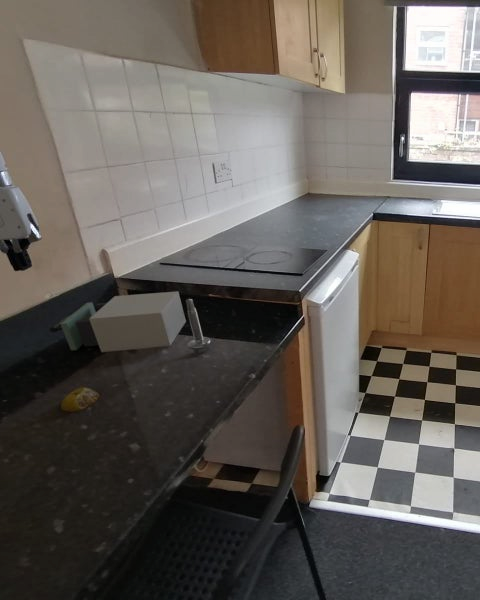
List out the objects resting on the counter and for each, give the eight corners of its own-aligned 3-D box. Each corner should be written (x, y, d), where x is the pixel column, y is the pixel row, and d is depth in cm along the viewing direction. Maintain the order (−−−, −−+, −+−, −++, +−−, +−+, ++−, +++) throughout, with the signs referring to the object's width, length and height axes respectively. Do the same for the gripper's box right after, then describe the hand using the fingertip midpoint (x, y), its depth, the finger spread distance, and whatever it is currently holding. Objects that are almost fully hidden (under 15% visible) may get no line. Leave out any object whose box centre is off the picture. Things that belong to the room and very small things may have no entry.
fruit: (106, 420, 71) (99, 403, 69) (52, 426, 69) (44, 409, 68) (125, 391, 78) (119, 375, 76) (77, 397, 77) (70, 381, 75)
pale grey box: (101, 352, 91) (88, 318, 88) (125, 326, 103) (114, 296, 99) (170, 345, 94) (161, 312, 90) (186, 321, 105) (178, 291, 102)
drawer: (49, 352, 90) (37, 325, 87) (76, 328, 100) (67, 304, 97) (136, 344, 93) (127, 318, 90) (154, 322, 103) (147, 297, 100)
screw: (214, 352, 91) (190, 358, 89) (211, 343, 95) (188, 348, 93) (202, 300, 86) (176, 305, 83) (199, 292, 89) (175, 296, 87)
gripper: (-75, 186, 75) (-30, 277, 83) (17, 182, 77) (52, 272, 85) (-43, 180, 82) (-4, 265, 89) (40, 177, 84) (71, 261, 92)
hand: (23, 268), depth 87 cm, fingers closed
